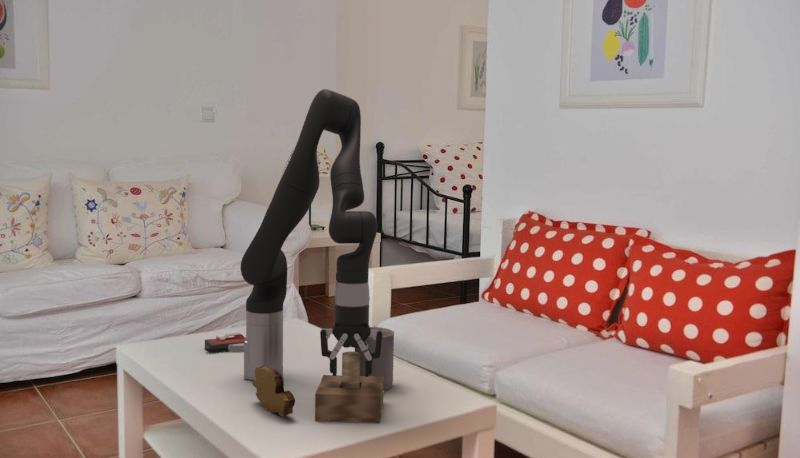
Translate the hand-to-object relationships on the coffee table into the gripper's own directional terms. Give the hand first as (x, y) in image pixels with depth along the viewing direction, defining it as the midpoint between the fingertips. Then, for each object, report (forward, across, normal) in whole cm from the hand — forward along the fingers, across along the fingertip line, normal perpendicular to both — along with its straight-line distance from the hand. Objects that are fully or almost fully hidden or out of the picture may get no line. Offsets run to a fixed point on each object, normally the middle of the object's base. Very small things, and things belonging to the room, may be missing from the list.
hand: (351, 375), depth 180 cm
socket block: (+8, 0, 0) cm, 8 cm away
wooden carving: (+9, -17, -1) cm, 19 cm away
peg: (+7, 0, 0) cm, 7 cm away
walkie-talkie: (+9, -37, +51) cm, 63 cm away
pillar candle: (+9, +4, +19) cm, 21 cm away
